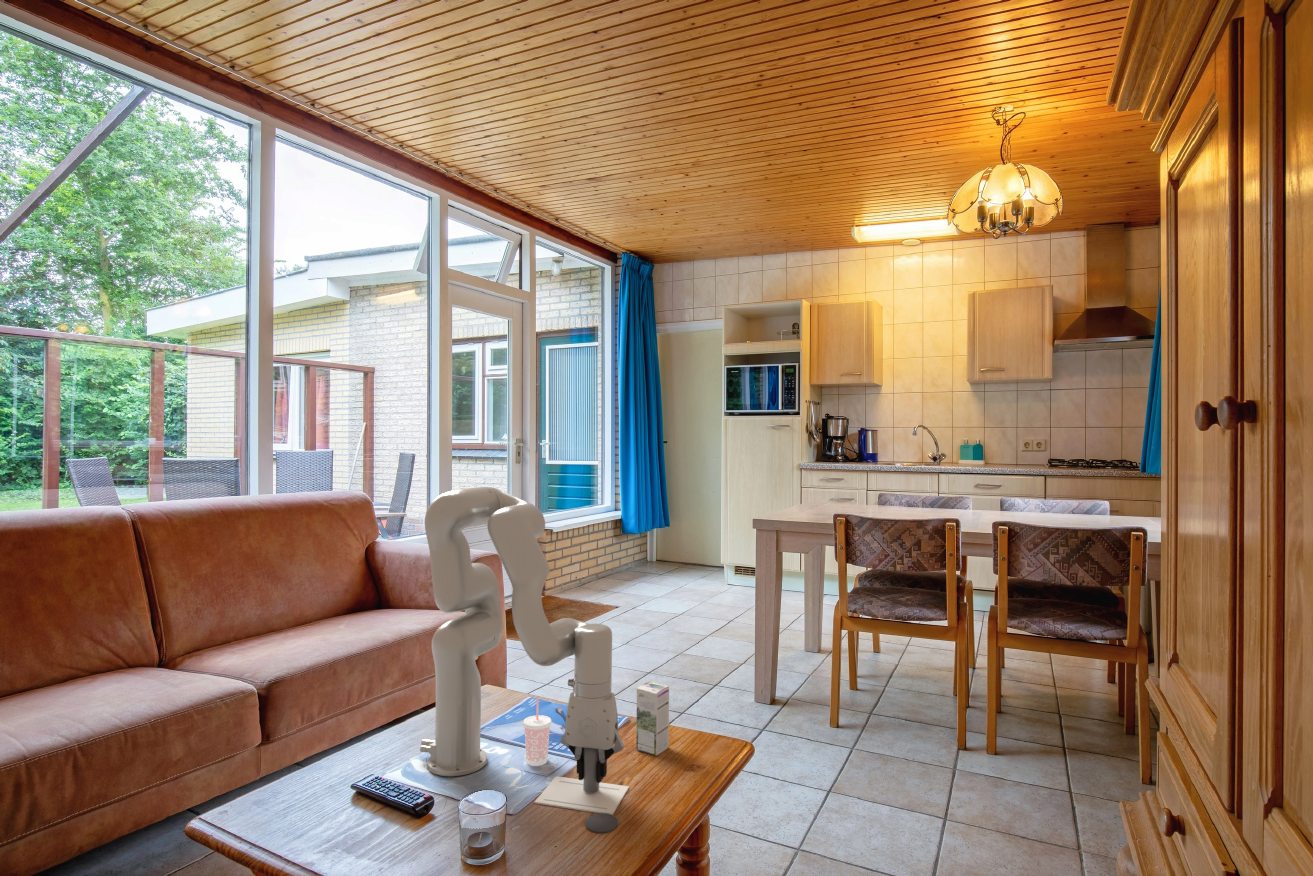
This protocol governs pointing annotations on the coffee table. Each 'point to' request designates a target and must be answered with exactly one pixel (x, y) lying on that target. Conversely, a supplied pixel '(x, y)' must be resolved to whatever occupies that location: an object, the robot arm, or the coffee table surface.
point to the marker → (590, 770)
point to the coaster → (601, 823)
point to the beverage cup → (537, 738)
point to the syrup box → (652, 718)
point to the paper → (582, 796)
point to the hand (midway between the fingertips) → (591, 777)
